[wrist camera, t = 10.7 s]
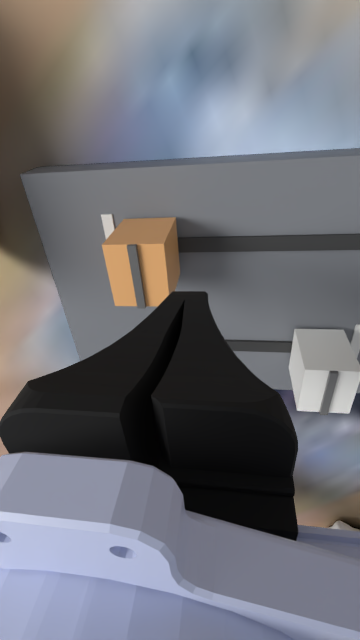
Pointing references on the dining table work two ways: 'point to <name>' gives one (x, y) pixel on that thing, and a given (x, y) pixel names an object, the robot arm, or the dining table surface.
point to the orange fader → (142, 261)
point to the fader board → (214, 245)
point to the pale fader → (323, 371)
